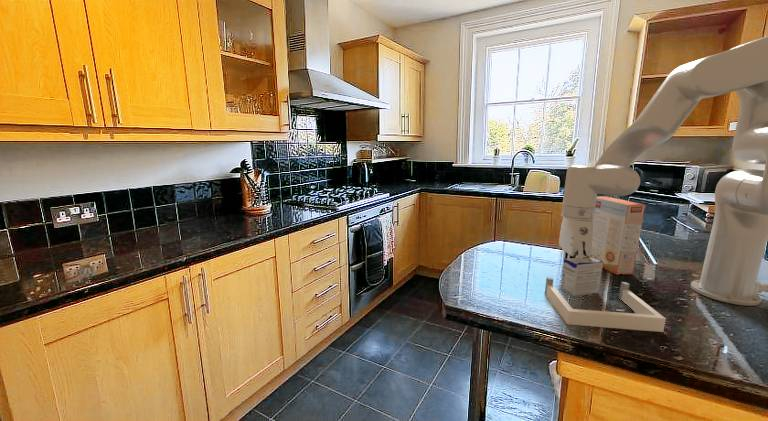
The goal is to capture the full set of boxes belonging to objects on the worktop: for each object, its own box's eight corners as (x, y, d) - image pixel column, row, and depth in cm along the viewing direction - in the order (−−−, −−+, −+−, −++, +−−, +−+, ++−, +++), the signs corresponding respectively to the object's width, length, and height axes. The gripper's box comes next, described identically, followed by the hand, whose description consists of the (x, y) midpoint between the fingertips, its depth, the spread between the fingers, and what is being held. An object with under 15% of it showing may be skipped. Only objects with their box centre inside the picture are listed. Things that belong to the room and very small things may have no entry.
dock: (623, 298, 82) (626, 282, 81) (663, 332, 68) (667, 312, 67) (544, 293, 84) (546, 277, 83) (566, 324, 70) (569, 305, 69)
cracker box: (634, 275, 96) (647, 204, 92) (615, 275, 96) (627, 204, 91) (598, 258, 110) (608, 195, 105) (581, 258, 109) (590, 195, 105)
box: (584, 286, 89) (588, 255, 87) (598, 293, 84) (603, 261, 82) (559, 289, 87) (563, 258, 85) (572, 297, 82) (577, 264, 81)
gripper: (607, 219, 80) (596, 289, 84) (580, 206, 95) (572, 267, 99) (574, 217, 81) (564, 287, 85) (553, 205, 96) (545, 265, 100)
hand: (568, 276), depth 92 cm, fingers closed
